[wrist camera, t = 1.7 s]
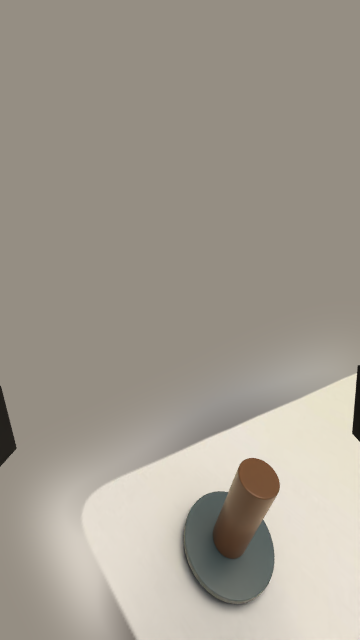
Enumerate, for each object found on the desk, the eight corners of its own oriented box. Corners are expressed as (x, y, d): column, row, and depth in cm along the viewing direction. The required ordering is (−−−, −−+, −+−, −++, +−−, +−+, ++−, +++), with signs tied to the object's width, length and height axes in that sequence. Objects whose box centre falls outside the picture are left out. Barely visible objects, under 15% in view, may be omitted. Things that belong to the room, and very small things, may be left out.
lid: (236, 639, 16) (285, 581, 12) (164, 541, 19) (181, 469, 15) (284, 550, 20) (333, 483, 16) (218, 483, 24) (243, 414, 19)
